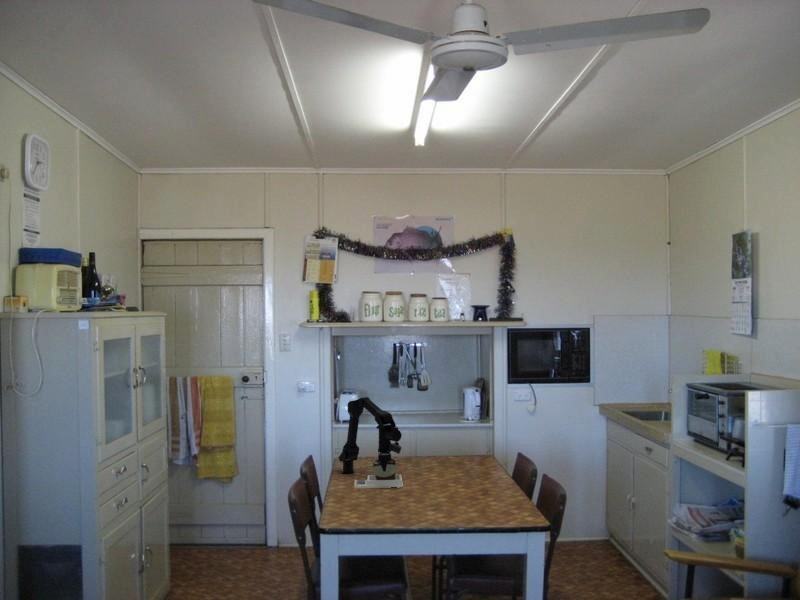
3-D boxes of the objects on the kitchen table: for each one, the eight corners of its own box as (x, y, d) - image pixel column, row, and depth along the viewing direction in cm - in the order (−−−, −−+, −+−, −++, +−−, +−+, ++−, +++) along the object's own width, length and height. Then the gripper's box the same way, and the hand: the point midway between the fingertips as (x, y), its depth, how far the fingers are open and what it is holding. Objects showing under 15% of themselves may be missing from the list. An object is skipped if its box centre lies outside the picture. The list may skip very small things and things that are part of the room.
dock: (354, 481, 326) (354, 475, 326) (402, 481, 327) (402, 474, 327) (354, 488, 314) (354, 481, 314) (403, 487, 315) (403, 480, 315)
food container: (397, 475, 326) (396, 456, 324) (398, 480, 319) (396, 461, 318) (373, 477, 325) (371, 458, 323) (373, 482, 319) (371, 463, 317)
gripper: (401, 442, 312) (401, 474, 312) (399, 434, 331) (399, 465, 330) (378, 442, 312) (378, 474, 311) (377, 434, 330) (377, 465, 330)
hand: (384, 469), depth 321 cm, fingers closed on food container, 6 cm apart
